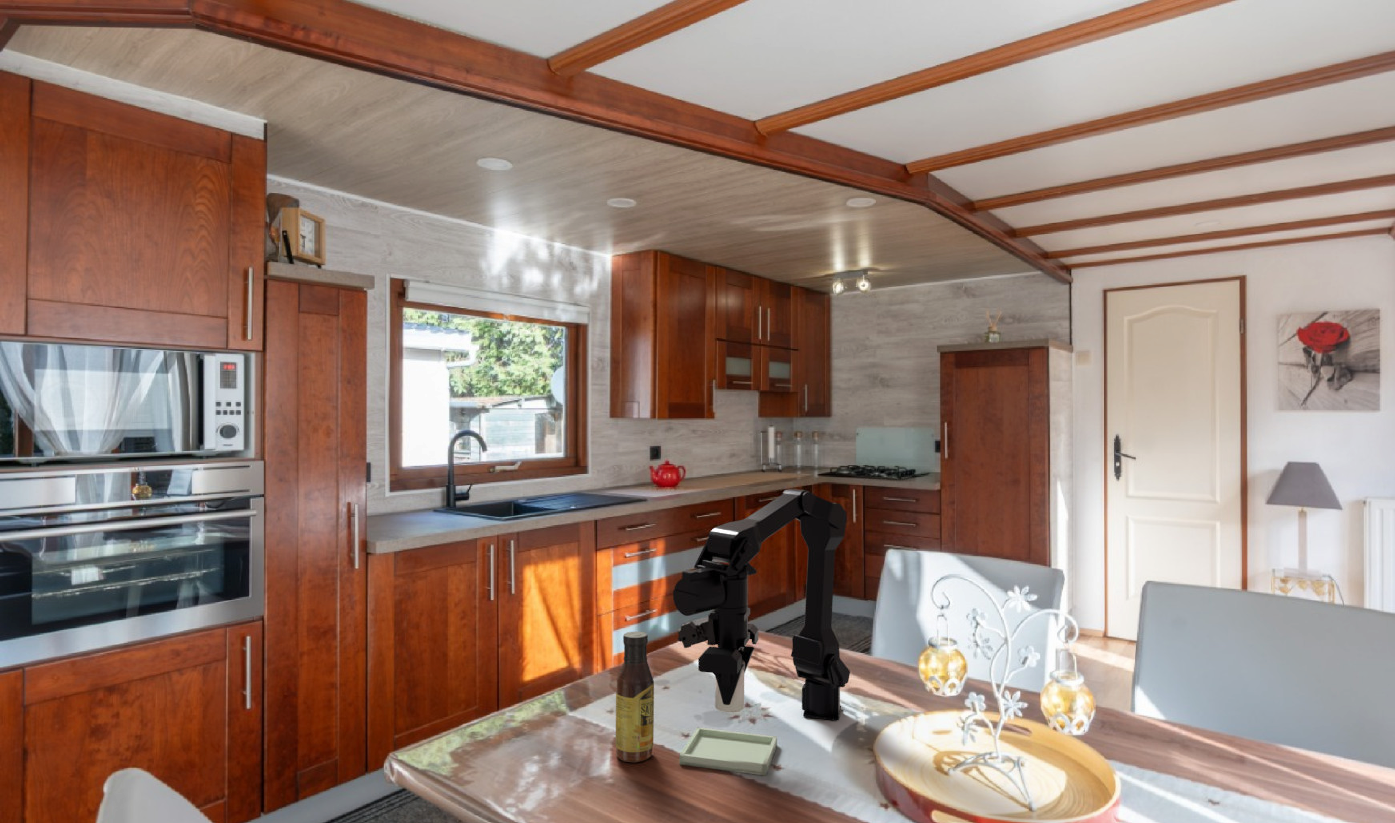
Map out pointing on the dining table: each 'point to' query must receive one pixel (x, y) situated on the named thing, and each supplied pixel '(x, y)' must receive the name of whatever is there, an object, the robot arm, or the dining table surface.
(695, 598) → the robot arm
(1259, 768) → the dining table surface
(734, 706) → the spice jar
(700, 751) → the tray
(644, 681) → the sauce bottle
